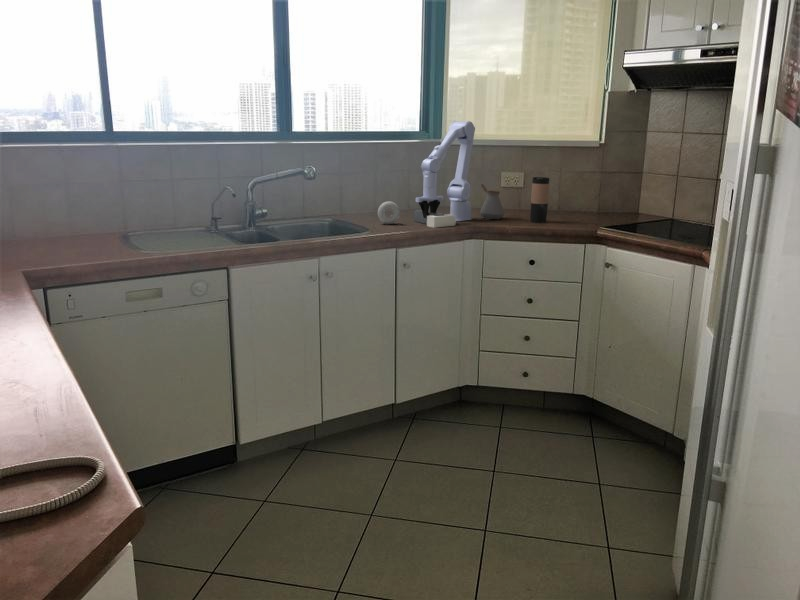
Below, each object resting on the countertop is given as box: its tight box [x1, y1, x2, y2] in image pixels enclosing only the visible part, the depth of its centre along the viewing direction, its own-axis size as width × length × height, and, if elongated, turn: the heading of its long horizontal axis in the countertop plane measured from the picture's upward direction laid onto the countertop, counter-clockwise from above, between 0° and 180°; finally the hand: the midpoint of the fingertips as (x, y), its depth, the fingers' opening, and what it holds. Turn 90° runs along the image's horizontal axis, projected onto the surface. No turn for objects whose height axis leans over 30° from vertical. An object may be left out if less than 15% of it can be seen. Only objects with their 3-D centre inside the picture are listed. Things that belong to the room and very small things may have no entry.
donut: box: [377, 200, 401, 225], centre depth 291 cm, size 10×4×10 cm, turn 105°
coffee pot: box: [478, 183, 505, 220], centre depth 317 cm, size 21×12×15 cm, turn 14°
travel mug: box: [529, 176, 550, 224], centre depth 304 cm, size 8×8×20 cm
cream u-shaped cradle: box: [426, 213, 457, 229], centre depth 289 cm, size 12×5×4 cm, turn 129°
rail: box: [413, 209, 445, 225], centre depth 295 cm, size 4×16×5 cm, turn 39°
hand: (429, 217), depth 295 cm, fingers closed on rail, 3 cm apart
